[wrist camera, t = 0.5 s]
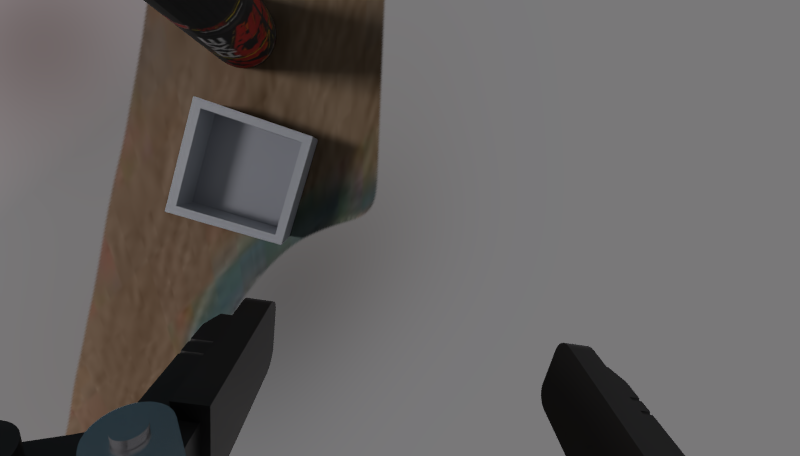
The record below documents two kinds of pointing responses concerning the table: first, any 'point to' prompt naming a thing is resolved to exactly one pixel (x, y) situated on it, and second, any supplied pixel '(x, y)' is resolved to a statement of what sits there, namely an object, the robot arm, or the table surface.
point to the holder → (240, 172)
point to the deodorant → (225, 27)
